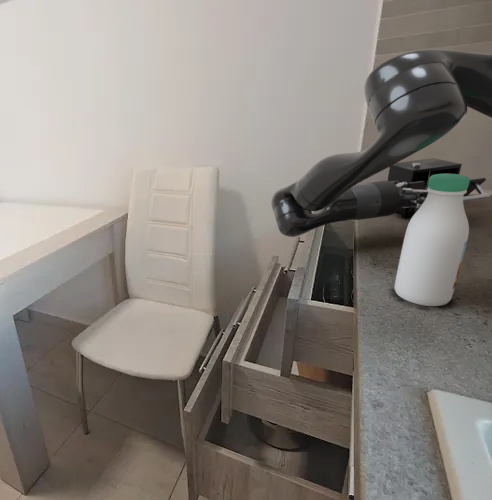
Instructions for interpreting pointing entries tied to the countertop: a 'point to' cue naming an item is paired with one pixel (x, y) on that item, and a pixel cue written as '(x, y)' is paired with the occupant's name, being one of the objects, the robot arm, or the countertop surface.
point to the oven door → (472, 186)
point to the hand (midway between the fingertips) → (439, 190)
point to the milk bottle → (434, 243)
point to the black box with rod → (420, 173)
